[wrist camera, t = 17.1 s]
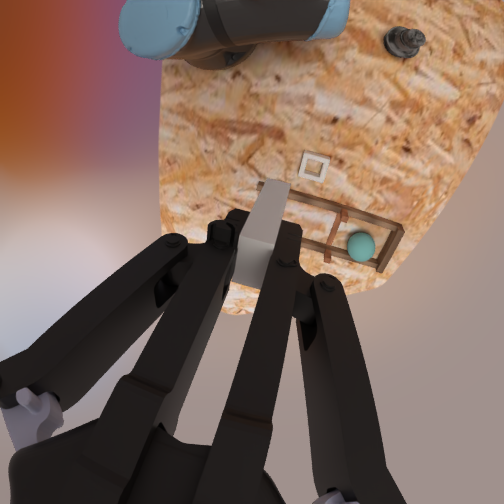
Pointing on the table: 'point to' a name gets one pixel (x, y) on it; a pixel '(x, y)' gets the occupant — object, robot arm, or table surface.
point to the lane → (343, 216)
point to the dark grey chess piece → (404, 41)
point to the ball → (361, 247)
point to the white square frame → (312, 175)
